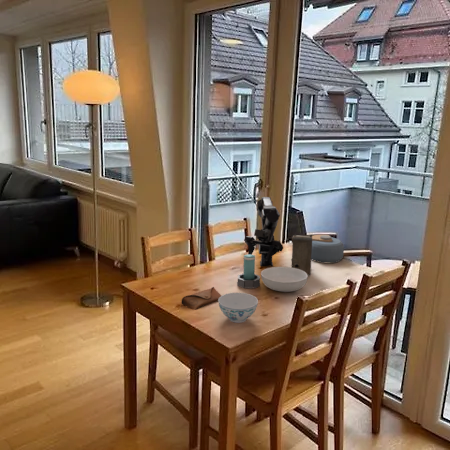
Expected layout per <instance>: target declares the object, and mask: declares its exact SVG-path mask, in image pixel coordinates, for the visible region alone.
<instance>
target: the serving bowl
mask: <svg viewBox="0 0 450 450" xmlns="http://www.w3.org/2000/svg"><path fill="white" fill-rule="evenodd" d="M291 267H292V266H291ZM291 267H290V266H270V267H267V268H264V269H263V270H261V272H260V279H261V281H262V282H263V284H264V285H265V286H266V287H267V288H269V289H270V290H273V291H276V292H284V293H287V292H295V291H298V290H300V289H302V288H303V287H304V286H305V285H306V283H307V281H308V276H309V275H307V273H306V272H304V271H302V270H300V269H296V268H291Z"/></svg>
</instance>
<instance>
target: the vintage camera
mask: <svg viewBox="0 0 450 450" xmlns="http://www.w3.org/2000/svg"><path fill="white" fill-rule="evenodd" d="M312 236H313V235H311V234H310V235H296V234H294V235H292V237H291V244H292V248H291V249H292V251H291V259H290V261H291V265H290V266H291V268H296V269H300V270H302V271H304V272H306V273H307V275H308V276H311V272H312V271H311V268H312V259H311V253H312Z"/></svg>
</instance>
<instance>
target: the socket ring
mask: <svg viewBox="0 0 450 450" xmlns="http://www.w3.org/2000/svg"><path fill="white" fill-rule="evenodd" d="M243 274H244V272H243V273H240V274H238V275H237V283H236V285H237V286H238V287H240V288H241V289H256V288H258V287H260V285H261V284H260V281H261V275H259V274H256V273H254V280H244V279H243Z"/></svg>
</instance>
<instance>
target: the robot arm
mask: <svg viewBox="0 0 450 450" xmlns="http://www.w3.org/2000/svg"><path fill="white" fill-rule="evenodd" d="M273 204H274V203H273V201H272V198H271V197H270V196H262V197H261V198H260V199H259V200H257V201H256V206H255V207H256V211H257V215H258V216H259V217H260V219H261V229H257V228H255V230H254V234H253V236H248V235H247V236H245V237H244V239H243V241H244V243H246V245H247V248H248V251H247V254H251V255H253V253H254V251H255V249H256V246H257V245H258V254H259V255H260V257H261V258H260V261H259V265H260V267H274V263H273V257H274V255H277V253H280V252H282V251H283V250H284V246H283V244H282V242H281V241H280V240H277V239H276V240H275V236H274V233H275V231H276V228H277V226H278V223H279V220H280V216H281V214H280V212H279V209H277V207H276V206H274V205H273ZM255 236H256V238H254V237H255Z"/></svg>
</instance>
